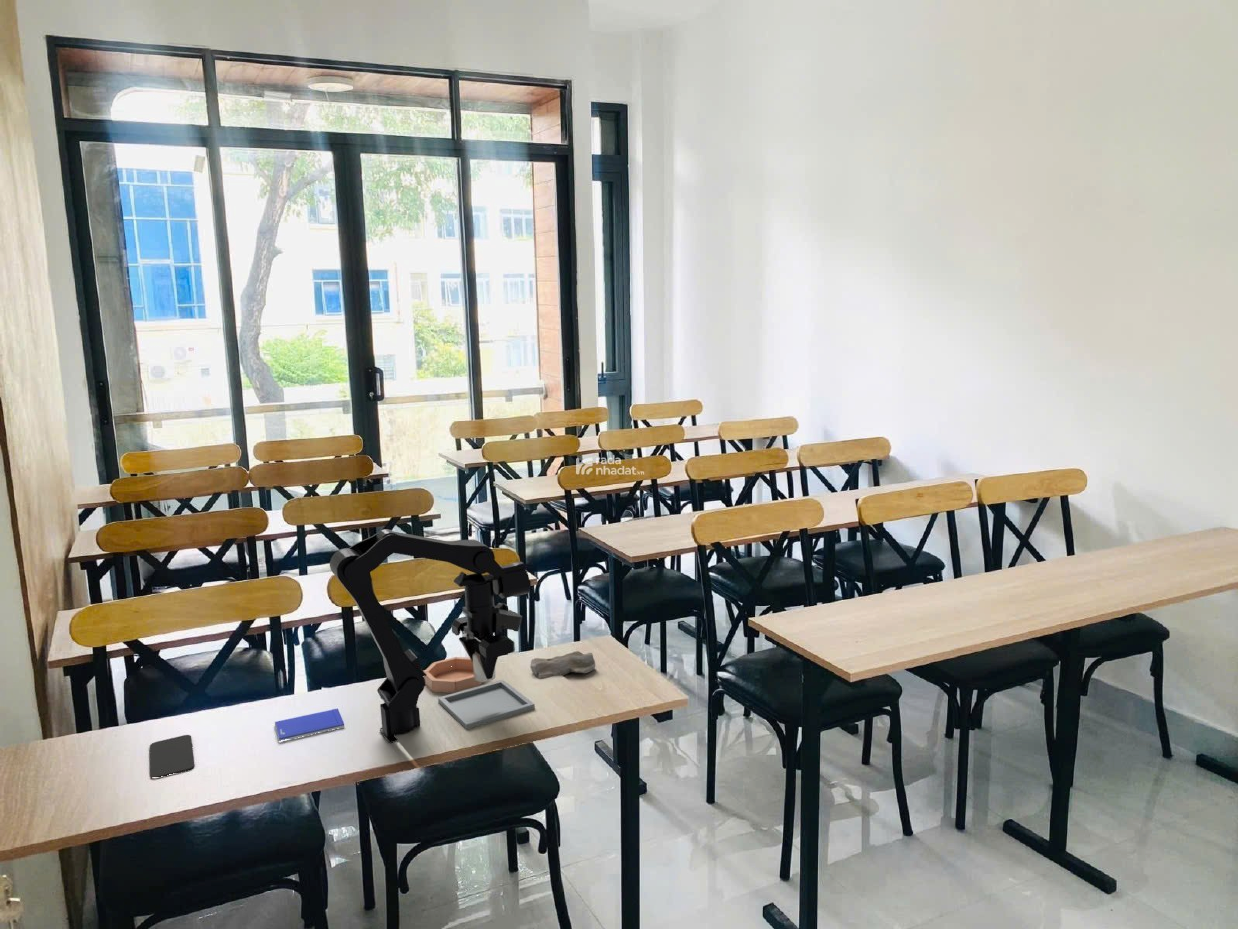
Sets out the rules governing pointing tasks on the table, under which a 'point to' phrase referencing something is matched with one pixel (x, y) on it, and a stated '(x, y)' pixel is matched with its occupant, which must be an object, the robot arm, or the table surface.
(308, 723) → the hard drive
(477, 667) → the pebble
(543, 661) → the stone
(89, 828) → the table surface
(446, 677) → the bowl
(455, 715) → the parts tray
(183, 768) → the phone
